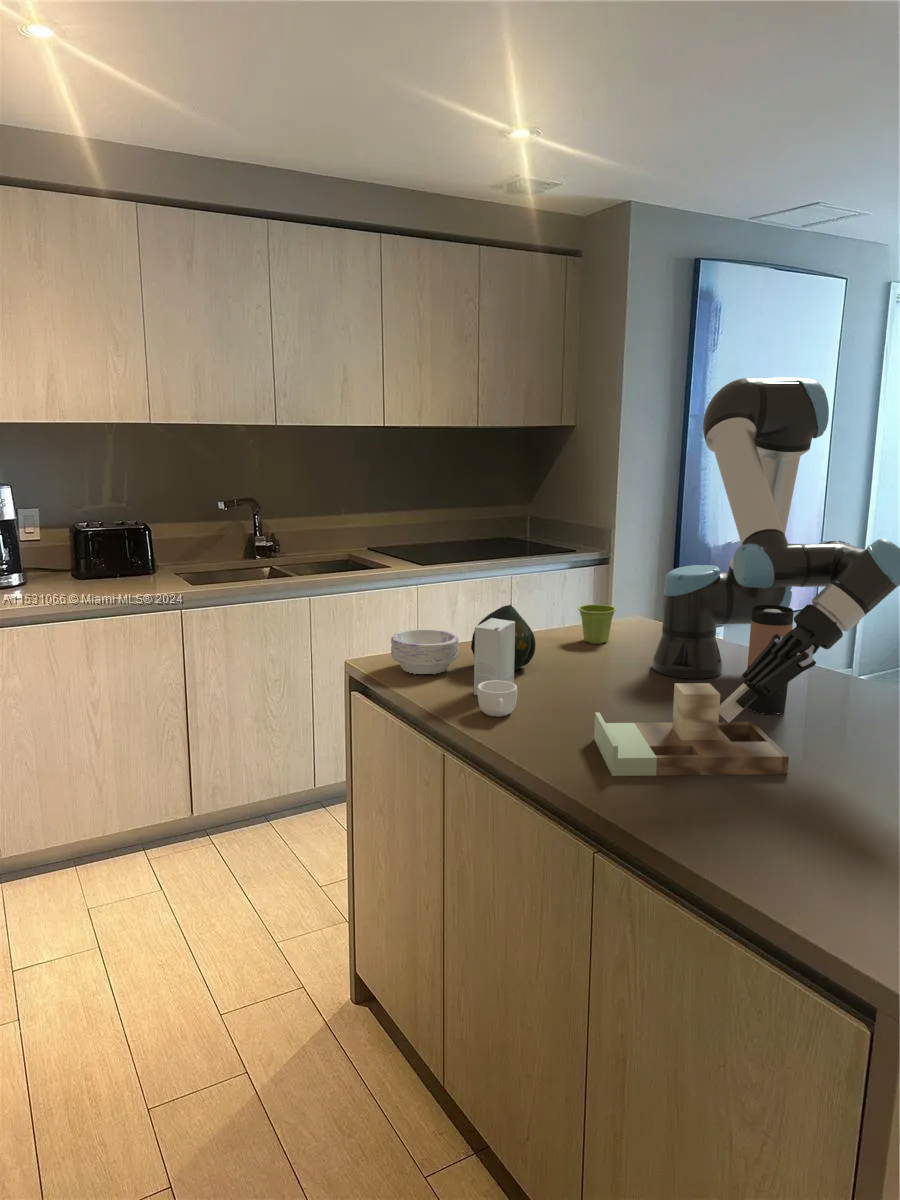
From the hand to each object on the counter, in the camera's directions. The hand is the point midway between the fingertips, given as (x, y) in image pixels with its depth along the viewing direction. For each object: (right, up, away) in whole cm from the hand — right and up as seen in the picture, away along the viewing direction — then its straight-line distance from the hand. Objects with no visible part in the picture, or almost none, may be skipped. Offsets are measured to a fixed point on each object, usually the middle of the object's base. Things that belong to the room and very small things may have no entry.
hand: (721, 716), depth 145 cm
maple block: (-4, -3, +1) cm, 6 cm away
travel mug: (+16, -2, +23) cm, 28 cm away
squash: (-34, +4, +52) cm, 62 cm away
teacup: (-37, -3, +20) cm, 42 cm away
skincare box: (-37, 0, +34) cm, 50 cm away
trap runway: (-3, -7, -1) cm, 7 cm away
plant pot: (-9, +9, +75) cm, 76 cm away
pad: (-17, -7, -1) cm, 18 cm away
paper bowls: (-52, +4, +50) cm, 72 cm away
